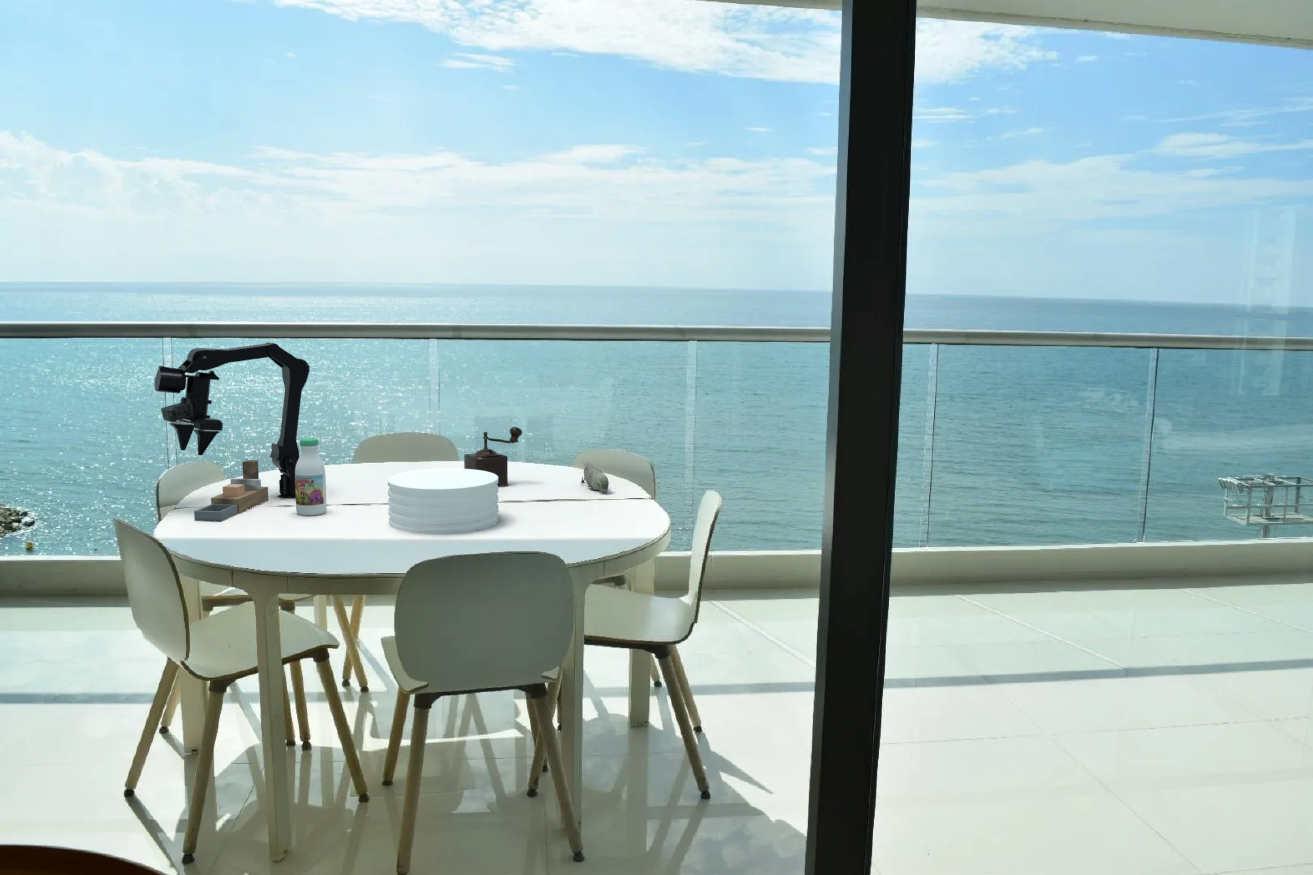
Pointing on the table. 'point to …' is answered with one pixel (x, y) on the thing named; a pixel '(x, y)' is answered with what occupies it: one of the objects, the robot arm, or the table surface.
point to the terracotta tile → (233, 490)
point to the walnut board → (243, 499)
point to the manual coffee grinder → (492, 458)
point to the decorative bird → (595, 478)
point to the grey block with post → (249, 476)
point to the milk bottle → (310, 480)
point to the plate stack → (443, 500)
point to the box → (215, 512)
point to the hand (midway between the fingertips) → (191, 452)
